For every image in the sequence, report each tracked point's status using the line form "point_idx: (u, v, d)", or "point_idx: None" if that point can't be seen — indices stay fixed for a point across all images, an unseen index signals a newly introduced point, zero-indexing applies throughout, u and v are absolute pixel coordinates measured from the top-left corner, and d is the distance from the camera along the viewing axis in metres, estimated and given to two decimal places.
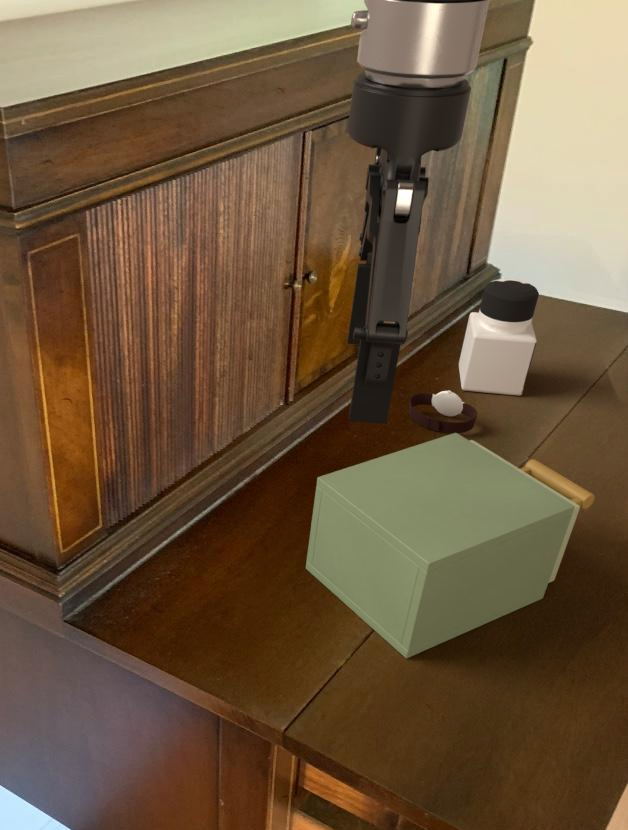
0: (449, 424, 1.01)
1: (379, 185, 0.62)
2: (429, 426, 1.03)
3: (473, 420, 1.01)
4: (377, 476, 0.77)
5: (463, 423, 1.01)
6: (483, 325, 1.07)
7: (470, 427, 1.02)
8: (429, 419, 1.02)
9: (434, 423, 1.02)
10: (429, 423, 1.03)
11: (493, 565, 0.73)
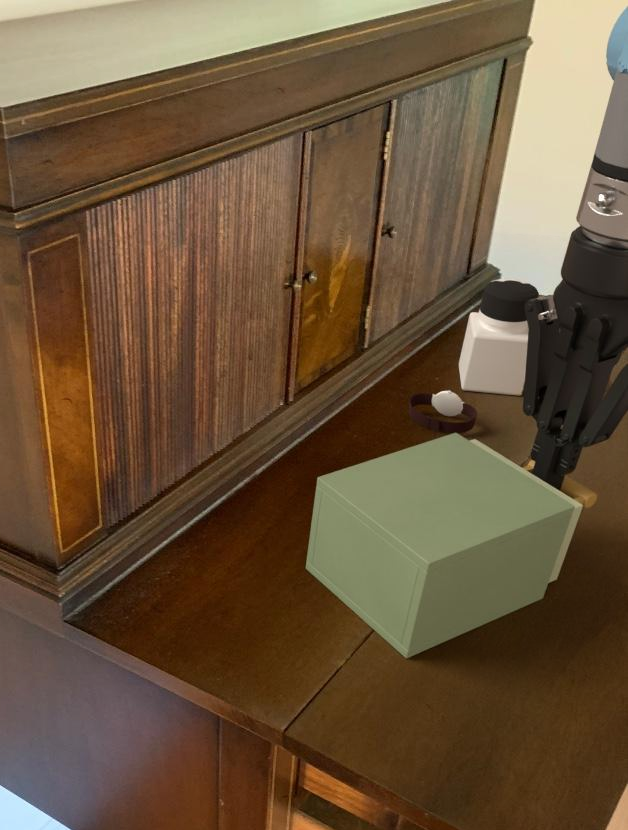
0: (449, 424, 1.01)
1: (609, 326, 0.71)
2: (429, 426, 1.03)
3: (473, 420, 1.01)
4: (377, 476, 0.77)
5: (463, 423, 1.01)
6: (483, 325, 1.07)
7: (470, 427, 1.02)
8: (429, 419, 1.02)
9: (434, 423, 1.02)
10: (429, 423, 1.03)
11: (493, 565, 0.73)
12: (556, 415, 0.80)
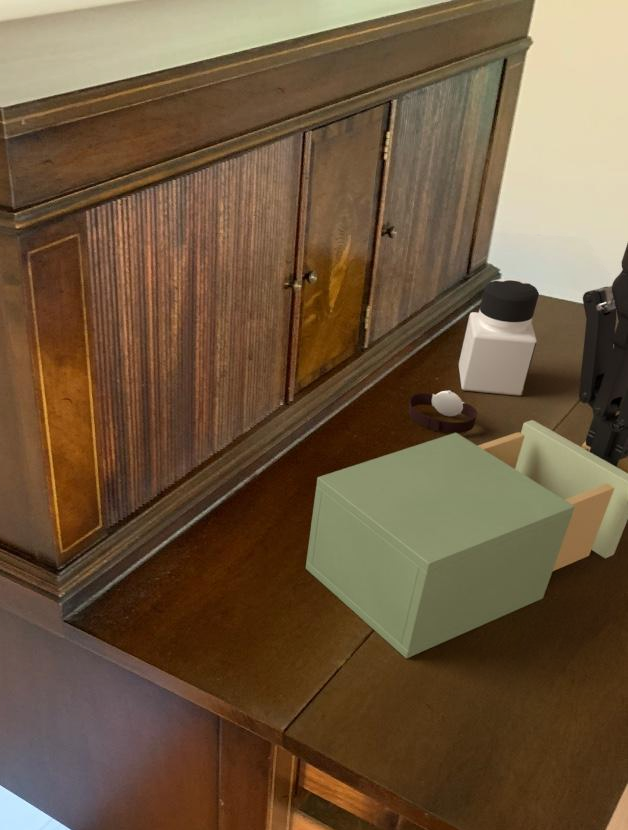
0: (449, 424, 1.01)
1: None
2: (429, 426, 1.03)
3: (473, 420, 1.01)
4: (377, 476, 0.77)
5: (463, 423, 1.01)
6: (483, 325, 1.07)
7: (470, 427, 1.02)
8: (429, 419, 1.02)
9: (434, 423, 1.02)
10: (429, 423, 1.03)
11: (493, 565, 0.73)
12: (612, 402, 0.83)
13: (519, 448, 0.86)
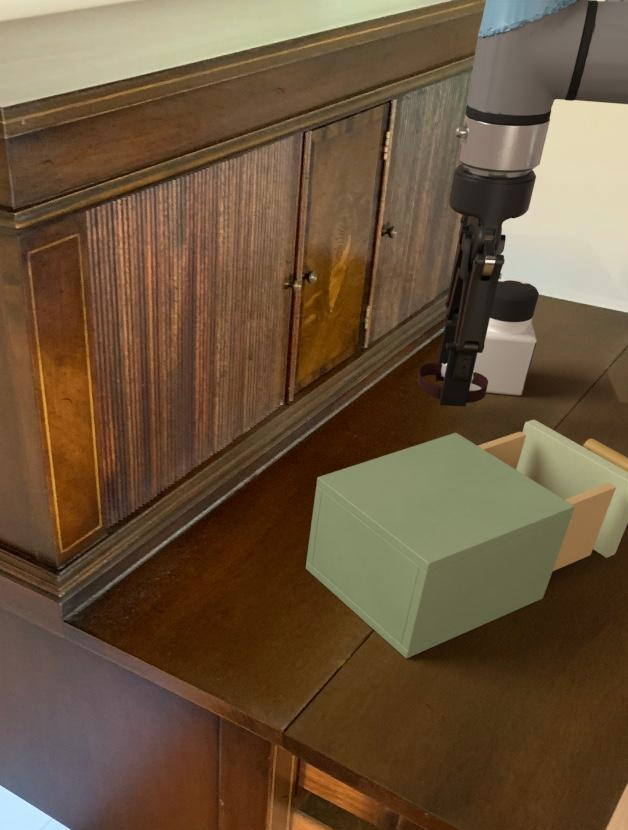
0: None
1: (471, 240, 0.89)
2: (439, 396, 1.01)
3: (484, 389, 0.99)
4: (377, 476, 0.77)
5: (474, 392, 0.99)
6: None
7: (481, 396, 0.99)
8: (439, 389, 1.00)
9: None
10: (439, 393, 1.00)
11: (493, 565, 0.73)
12: None
13: (520, 447, 0.86)
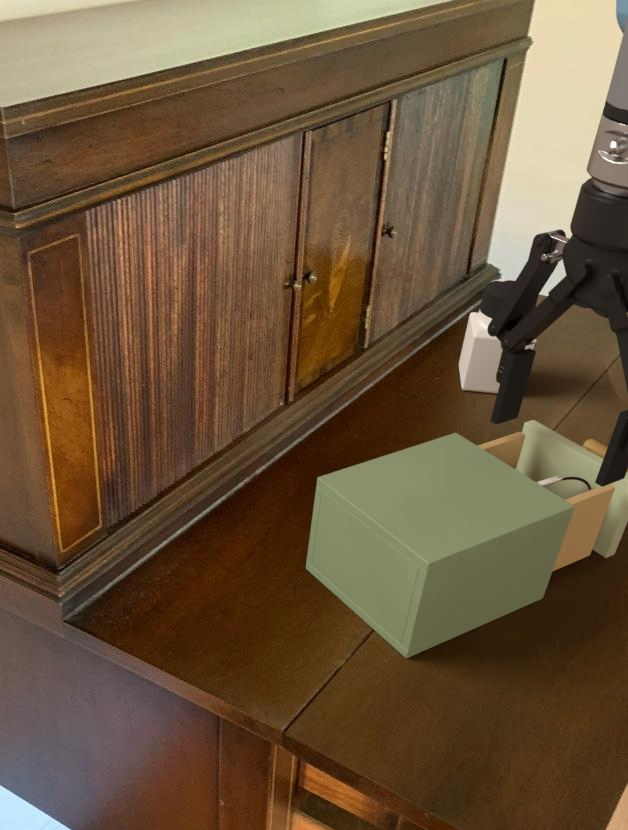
0: None
1: (620, 282, 0.69)
2: None
3: None
4: (377, 476, 0.77)
5: None
6: (483, 325, 1.07)
7: None
8: None
9: None
10: None
11: (493, 565, 0.73)
12: None
13: (520, 447, 0.86)
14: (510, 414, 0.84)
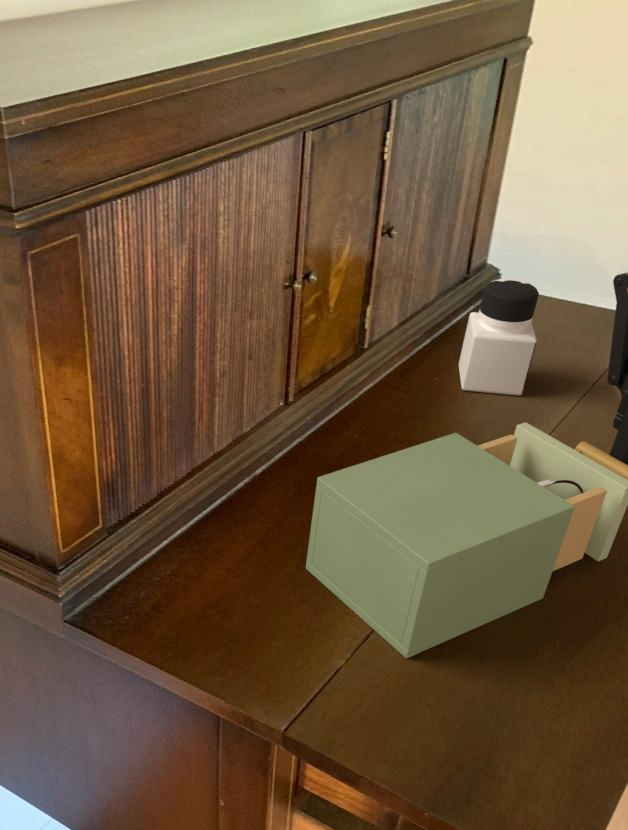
0: None
1: None
2: None
3: None
4: (377, 476, 0.77)
5: None
6: (483, 325, 1.07)
7: None
8: None
9: None
10: None
11: (493, 565, 0.73)
12: None
13: (512, 450, 0.86)
14: None
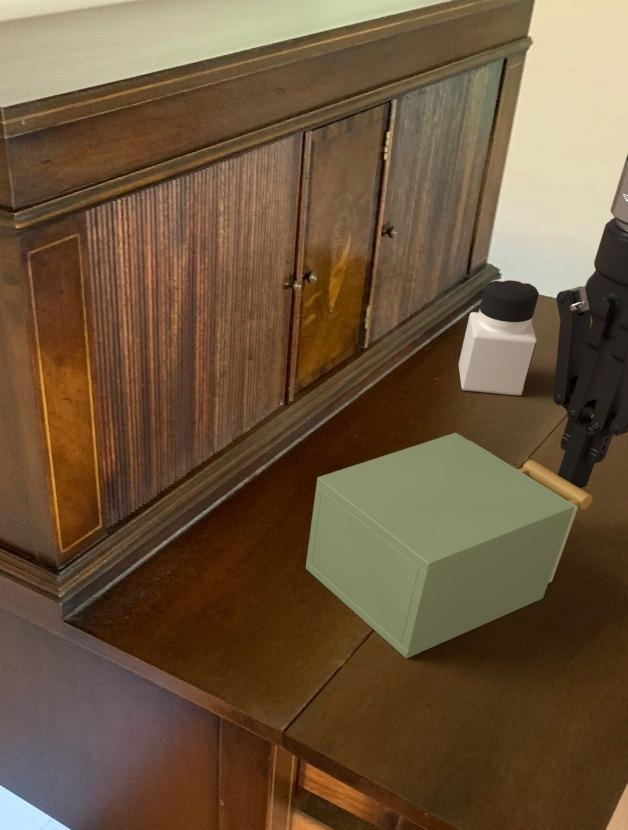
0: None
1: None
2: None
3: None
4: (377, 476, 0.77)
5: None
6: (483, 325, 1.07)
7: None
8: None
9: None
10: None
11: (493, 565, 0.73)
12: (586, 404, 0.81)
13: None
14: None
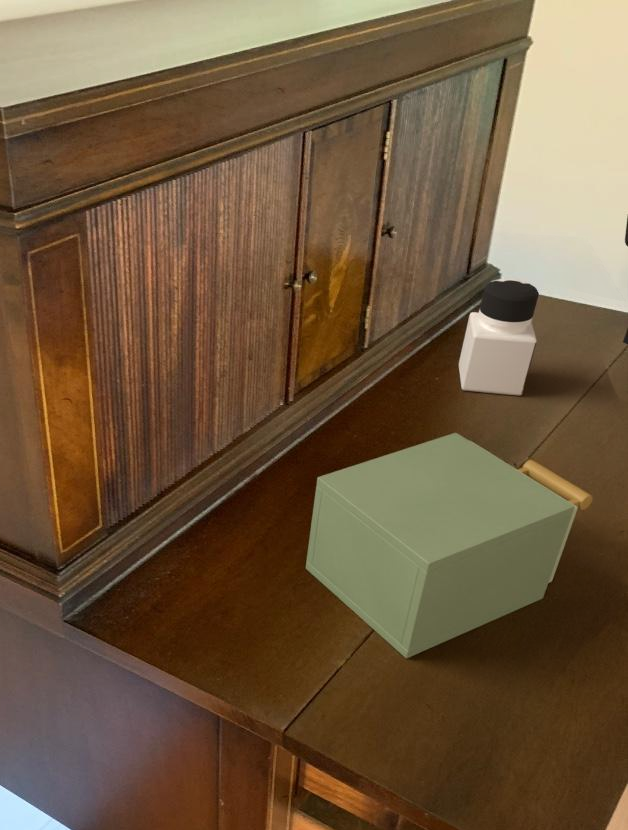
0: None
1: None
2: None
3: None
4: (377, 476, 0.77)
5: None
6: (483, 325, 1.07)
7: None
8: None
9: None
10: None
11: (493, 565, 0.73)
12: None
13: None
14: None
